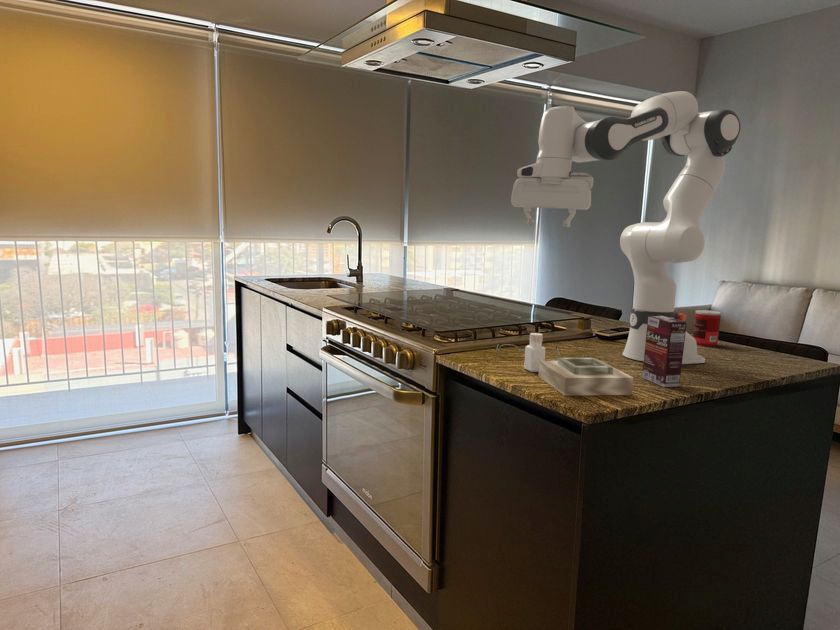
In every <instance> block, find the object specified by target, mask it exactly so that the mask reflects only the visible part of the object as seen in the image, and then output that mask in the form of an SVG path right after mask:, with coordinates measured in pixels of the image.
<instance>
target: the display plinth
mask: <svg viewBox="0 0 840 630" xmlns="http://www.w3.org/2000/svg"><path fill="white" fill-rule="evenodd" d="M538 377H539V378H540V379H541V380H543V382H545V383H547V384H548V385H549V384H550V385H549V386H551V388H553V387H554V389H555V390H556V391H557V390H558V392H559V393H560V394H561V393H562V394H561V395H563V396H565V397H566V396H632V395H633V387H634V377H633V376H631V375H630V374H627V373H625V372H623V371H621V370H620V369H617V368H616V367H613V366H612V365H610V364H608V363H606V362H604V361H602V360H599V359H597V358H596V357H557V360H545V361H540V362H539V372H538Z"/></svg>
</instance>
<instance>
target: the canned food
mask: <svg viewBox="0 0 840 630" xmlns="http://www.w3.org/2000/svg"><path fill="white" fill-rule="evenodd" d="M721 317H722V312H720V311H716V310H710V309H709V310H708V309H697V310H695V313H694V319H693V320H694V321H693V328H692V329H693V330H692V337H693V338H694V339H695V340H696V343H697V346H701V345H703V346H702V347H716V346H717V344H718V342H719V336H720V335H719V333H720V327H721V326H720V325H721Z"/></svg>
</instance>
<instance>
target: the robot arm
mask: <svg viewBox="0 0 840 630" xmlns="http://www.w3.org/2000/svg"><path fill="white" fill-rule="evenodd" d="M631 111H632V112H631V114H630V117H628V118H621V117H617V116H607V117H604V118H601V119H599V120H594V121H590V122H588V121H586V120H584V119H583V118H581V116H579V114H578V113H577V112H576V110H575V107H574V106H572V105H559V106H554V107H553V106H552V107H550V108H547V109H546V110H545V111H543V114H542V117H541V121H540V124H539V125H540V126H539V132H538V140H537V141H538V153H537V157H536V161H535V163H532V164H530V165H527V166H523V167H520V168H518V169H517V177H518V178H517V179H516V180H515V181H514V183H513V185H512V192H511V196H510V203H511V205H512V206H513V207H515V208H523V213H524V215H525V217H526V219H527V220H526V225H527V226H534V225H535V218H532V216H531V214H530V213H531V212H532V208H534V209H537V208H538V209H555V210H556V209H559V210H560V209H561V210H562V209H564V210H568V213H569V215H568V216H567V218H566V219H563V221H562V227H563V228H570V227H571V221H572V219H573V218H575V216H576V215H577V214H576V213H577V210H583V211H584V210H585V211H587V210H589V209H590V208H591V206H592V189H593V187H594V182H595V178H594V176H593V175H592V174H590V173H589V172H587V171H582V172H581V171H572V163H573V162H575V163H587V162H595V161H613V160H615V159H617V158H619V157H620V156H622V155H623V154H625V152H626V151H627V150H628V149H629V148H630V147H631V146H632V145H634V144H635V143H638V142H640V141H652V140H657V139H661V141H662V142H661V143H662V146H663V148H664V150H665V152H666V153H667V154H669V155H670V156H675V157H677V156H678V157H684V156H687V160H686V163H685V166H684V167H682V170H681V171H680V173H678V175H677V176H676V178H675V180H674V181H673V183H672V185H671V186H670V188H669V190H667V191H668V192H667V193H666V194H665V196H664V198H663V201H662V203H663V208H664V210H665V212H666V213H667V214H666V217H665V218H664V219H663V220H662V221H661V222H658V221H657V222H654V221H653V222H652V221H651V222H650V221H646V222H645V221H642V222H638V223H634V224H631V225H628V226H626V227H625V228H624V229H623V231H622V233H621V235H620V239H619V246H620V249H621V252H622V253H623V254H624V255H625V256H626V258H627V259H628V261H629V263H630V266H631V270H632V274H633V279H634V281H633V283H634V289H633V305H632V307H631V309H630V317H629V333H628V337H627V340H626V344H625V347H624V349H623V352H622V356H623V357H625V358H628V359H630V360H631V359H632V360H635V361H640V362H644V353H645V342H646V332H647V322H648V316H665V317H669V318H673V319H677V320H680V321H685V322H686V320H687V318H688V316H687V315H686V314H685V313H683V312H682V313H681V312H679V313H678V312H676V311H675V307H676V306H675V304H676V295H677V284H676V282H675V280H674V279H673V278H672V277H671V276H670V275H669V273H668V270H667V268H666V263H672V264H680V263H681V264H682V263H688V262H693V261H695V260H697V259H698V258H699V257H700V256H701V255H702V253H703V251H704V248H705V241H706V239H705V235H704V233H703V231H702V229H701V228H700V221H701V217H702V215H703V213H704V212H705V209H706V207H708V204H709V202H710V201H711V199H712V198H713V196H714V194H715V193H716V191H717V189H718V187H719V185H720V183H721V181H722V178H723V176H724V173H725V170H726V161H725V160H724V158H723V157H724V156H726V155H728V154H729V153H730V152H731V151H732V149H733V146H734V145H735V143H736V141H737V140H738V137H739V135H740V131H741V121H740V119H739V116H738V114H737V113H736V112H735V111H734V110H731V109H725V108H719V109H714V110H711V111H709V110H708V111H703V112H699V105H698V101H697V99H696V97H695V96H694V95H693V94H692V93H691V92H689V91H683V90H681V91H680V90H679V91H672V92H671V91H670V92H666V93H661V94H658V95H655V96H652V97H649V98H648V99H645V100H643V101H641V102H640V103H638V104H637V105H635V106H634V108H633V109H632V110H631ZM705 363H706V358H705V357H703V356H702V355H699V354H698V345H697V343H696V340H695V339H694V338H693V335H691V334H690V333H689V332H687V331H686V333H685V342H684V350H683V359H682V365H690V364H691V365H693V364H705Z"/></svg>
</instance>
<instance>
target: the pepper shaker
mask: <svg viewBox="0 0 840 630" xmlns="http://www.w3.org/2000/svg"><path fill="white" fill-rule="evenodd" d="M543 335H544V334H543V333H540V332H531V333H529V344H527V345H525V348H524V350H525V351H524V363H523V366H524V367H523V368H524V369H525V370H527V371H529V372H531V373H536V372H538V373H539V362H540V361H546V360H545V359H546V348H544V347H545V346H542V345H543V337H544V336H543Z"/></svg>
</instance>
